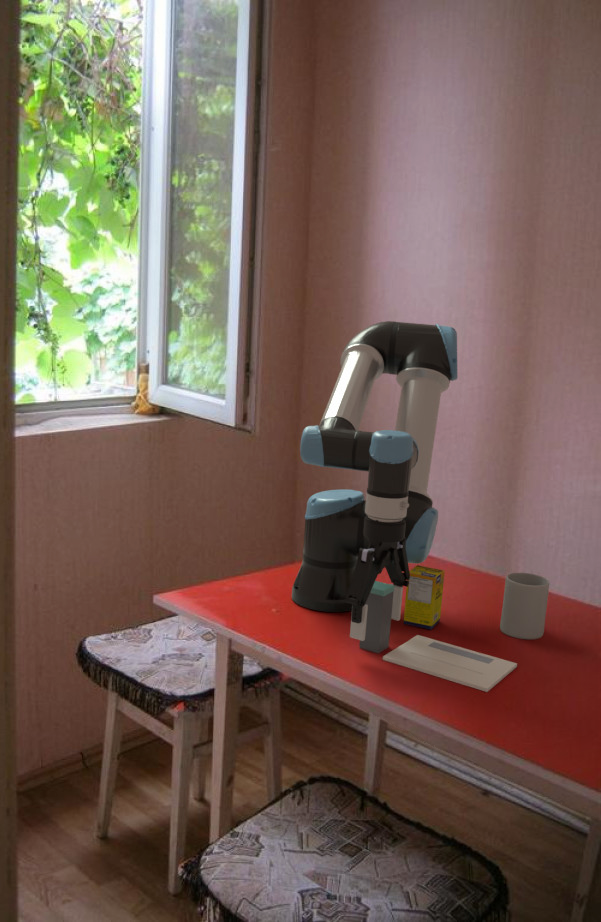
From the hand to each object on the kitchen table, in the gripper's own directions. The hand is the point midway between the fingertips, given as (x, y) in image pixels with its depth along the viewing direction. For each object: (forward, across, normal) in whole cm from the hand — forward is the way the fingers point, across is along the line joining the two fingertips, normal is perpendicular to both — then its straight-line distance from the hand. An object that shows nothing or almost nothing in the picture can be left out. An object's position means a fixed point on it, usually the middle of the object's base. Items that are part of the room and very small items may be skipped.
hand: (375, 628), depth 176 cm
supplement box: (+4, +18, -1) cm, 18 cm away
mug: (+4, +29, -17) cm, 34 cm away
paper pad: (+4, +3, -14) cm, 15 cm away
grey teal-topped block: (+4, 0, 0) cm, 4 cm away
